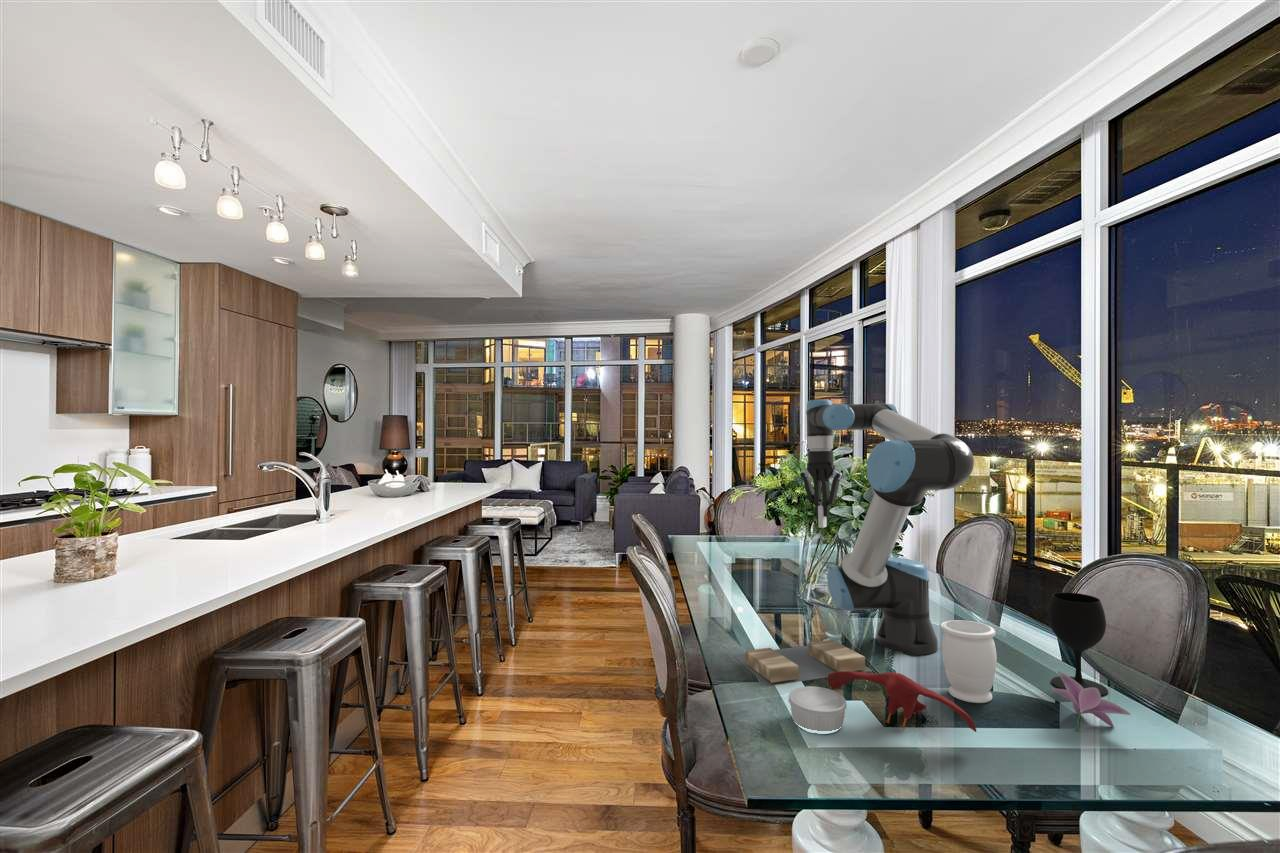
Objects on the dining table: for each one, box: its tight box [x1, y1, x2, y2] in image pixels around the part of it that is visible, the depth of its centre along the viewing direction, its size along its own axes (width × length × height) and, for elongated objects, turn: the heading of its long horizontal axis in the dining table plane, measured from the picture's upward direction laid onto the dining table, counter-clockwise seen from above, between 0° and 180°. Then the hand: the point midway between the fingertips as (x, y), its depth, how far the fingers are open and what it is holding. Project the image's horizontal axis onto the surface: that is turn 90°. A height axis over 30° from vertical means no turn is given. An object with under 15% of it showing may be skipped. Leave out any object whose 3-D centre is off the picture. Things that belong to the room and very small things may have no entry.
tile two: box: [744, 647, 799, 683], centre depth 144 cm, size 3×7×14 cm
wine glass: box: [1047, 592, 1109, 698], centre depth 133 cm, size 10×10×20 cm
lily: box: [1050, 671, 1131, 732], centre depth 115 cm, size 12×12×10 cm
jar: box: [941, 619, 997, 704], centre depth 130 cm, size 11×10×15 cm
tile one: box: [807, 639, 867, 672], centre depth 148 cm, size 3×7×14 cm
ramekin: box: [788, 685, 847, 731], centre depth 119 cm, size 11×11×5 cm
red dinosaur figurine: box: [827, 671, 978, 733], centre depth 118 cm, size 28×9×15 cm
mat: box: [731, 645, 874, 687], centre depth 149 cm, size 28×20×1 cm
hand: (822, 527), depth 181 cm, fingers closed
